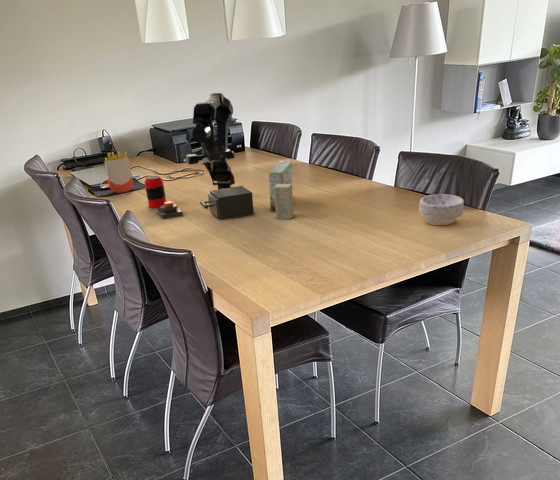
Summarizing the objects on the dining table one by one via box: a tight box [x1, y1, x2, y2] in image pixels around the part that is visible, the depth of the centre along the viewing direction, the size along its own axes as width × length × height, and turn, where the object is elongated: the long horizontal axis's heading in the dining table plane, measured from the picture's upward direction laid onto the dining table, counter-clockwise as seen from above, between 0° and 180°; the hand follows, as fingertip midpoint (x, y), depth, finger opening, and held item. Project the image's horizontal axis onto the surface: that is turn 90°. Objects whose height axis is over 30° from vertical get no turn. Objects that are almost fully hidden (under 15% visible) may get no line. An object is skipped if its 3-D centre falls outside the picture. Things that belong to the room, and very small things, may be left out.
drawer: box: [199, 192, 220, 219], centre depth 228 cm, size 17×11×7 cm
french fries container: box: [104, 151, 134, 194], centre depth 268 cm, size 5×11×18 cm, turn 114°
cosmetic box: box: [274, 183, 295, 220], centre depth 219 cm, size 6×4×12 cm
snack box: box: [268, 160, 294, 212], centre depth 234 cm, size 21×6×15 cm, turn 168°
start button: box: [164, 200, 174, 207], centre depth 233 cm, size 4×4×2 cm
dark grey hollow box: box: [209, 185, 255, 221], centre depth 229 cm, size 14×13×9 cm
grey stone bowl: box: [418, 193, 465, 226], centre depth 204 cm, size 15×15×8 cm
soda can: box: [144, 175, 167, 209], centre depth 244 cm, size 8×8×12 cm
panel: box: [157, 203, 183, 220], centre depth 234 cm, size 10×8×4 cm
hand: (212, 178), depth 232 cm, fingers closed
